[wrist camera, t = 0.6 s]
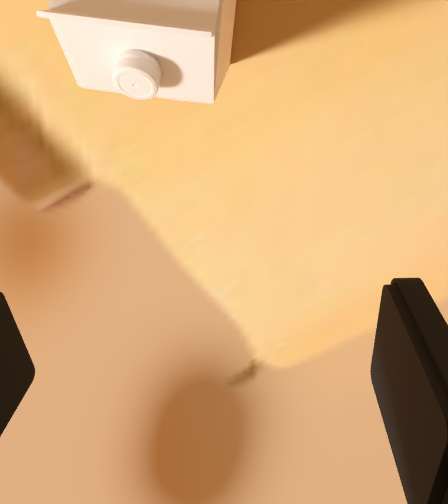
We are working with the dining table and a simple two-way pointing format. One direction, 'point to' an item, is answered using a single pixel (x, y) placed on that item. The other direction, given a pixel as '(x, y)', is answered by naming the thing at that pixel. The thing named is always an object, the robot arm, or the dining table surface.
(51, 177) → the dining table surface
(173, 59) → the milk carton
